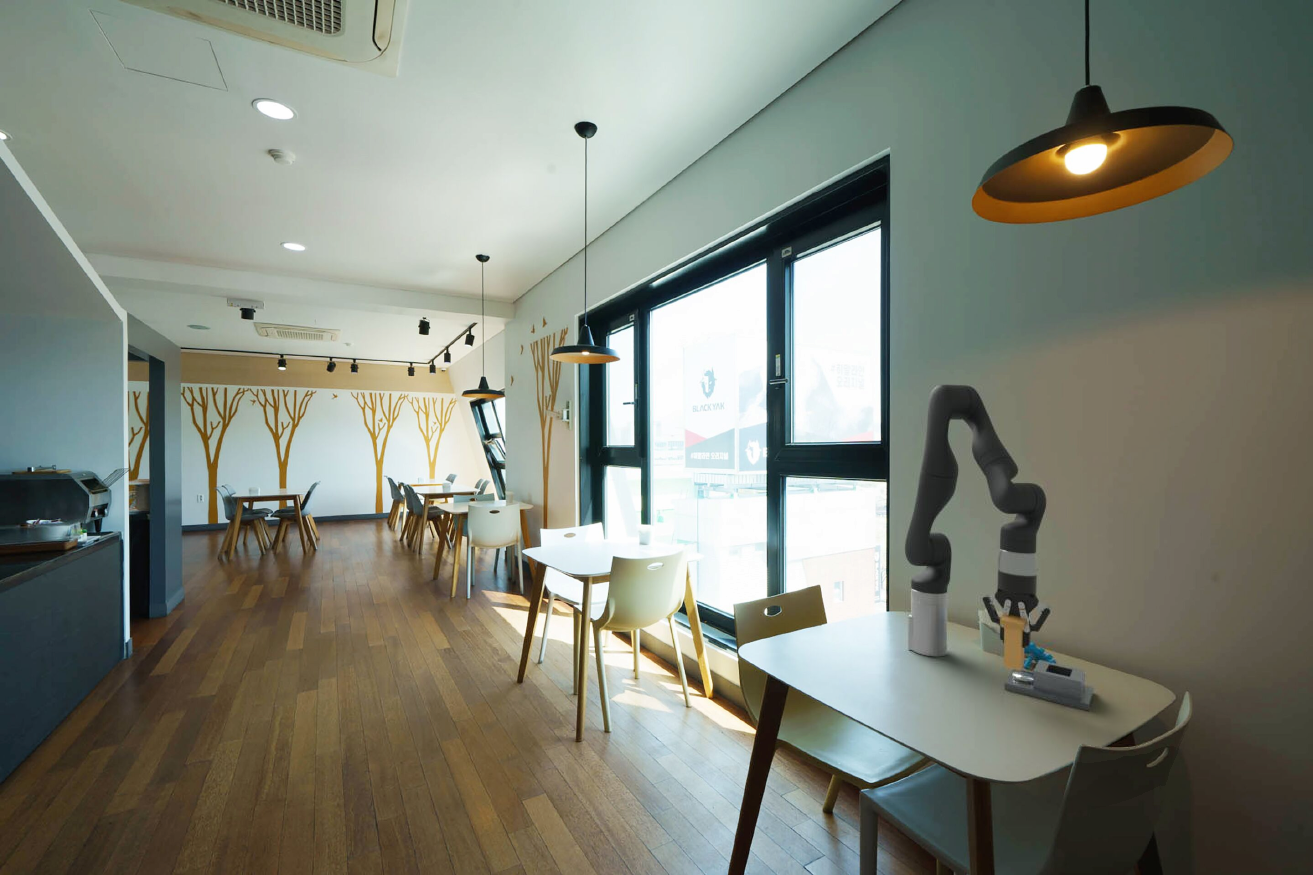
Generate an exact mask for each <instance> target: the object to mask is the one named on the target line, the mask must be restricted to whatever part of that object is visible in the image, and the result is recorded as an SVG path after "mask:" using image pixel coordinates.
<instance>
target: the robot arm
mask: <svg viewBox="0 0 1313 875" xmlns="http://www.w3.org/2000/svg"><path fill="white" fill-rule="evenodd" d="M926 416H927V419H926V433H925V442H924V443H925V444H924V450H923V455H922V462H921V467H920V471H919V478H918V485H917V486H918V487H917V492H916V498H915V503H914V507H913V512H912V516H911V519H910V523H909V528H908V530H907V533H906V537H905V543H904V554H905V558H906V560H907V561H908V563H909V564H910V565H912V566H914V567H915V566H916V567H925V568H924V570H923V571H922V572H920V573H918V574H917V575H915V576H913V577H911V581H910V614H909V615H908V618H907V619H908V622H907V623H908V627H907V628H908V630H907V631H908V632H907V634H908V635H907V636H908V638H907V639H908V640H907V647H908V648H907V650H911V651H912V652H915V653H917V654H920V655H922V656H928V657H944V656H946V655H947V654H948V653H947V652H948V587H949V585H950V582H951V572H952V570H951V569H952V556H953V554H952V552H953V551H952V546H951V545H952V544H951V542H950V540H949V538H948V536H946V535H945V534H944V533H941V532H931V530H932V527H933V525H934V522H935V520H936V518H937V517H938V516H939V514H940V513H941V512H942V511H943V509H944V508H945V507H946V506H947V505H948V503H950V501H951V499H952V498H953V496H954V495H955V492H956V488H957V482H958V478H959V470H960V469H959V464H958V462H957V461H958V460H957V458H956V457H955V454H954V451H953V450H952V447H951V445H950V442H949V430H950V429H949V427H950V422H951V420H955V421H957V420H959V421H960V420H962V421H964V422H965V423H966V425H968V426H969V428H970V429H971V432H972V441H971V442H972V444H971V452H972V456H973V459H974V461H975V462H976V464H977V465H978V467H979V468H980V470H981V472H982V474H983V475H984V476H985V478H986V482H987V486H988V490H989V495H990V497H991V501H992V504H993V505H994V507H995V508H997V510H999V511H1000V512H1001V513H1004V514H1008V515H1015V517H1014V520H1012V521H1011V522H1009V523H1005V524H1003V525H1002V526H1001V527H1000V534H999V552H998V558H997V559H998V560H997V587H996V588H997V589H996V592H995V593H994V594H990V595H989V594H986V595H984V596H983V597H982V602H983V605H984V608H985V609H986V611H987V613H988V616H989V620H990V621H991V623H994V624H997V625H998V626H999V640H1000V641H1002V643H1003V644H1004V626H1000V619H1001V616H1002V615H1004V616H1008V615H1009V614H1016V615H1019V616H1021V619H1024V620H1026V622H1027V625H1026V628H1025V630H1024V631H1023V639H1022V648H1026V647H1027V646H1029V644H1030V643H1031V642H1032V641H1031V639H1032V637H1031V636H1032V634H1031V633H1032V632H1035V633H1036V632H1039V631H1040V630H1041V629H1042V627H1043V625H1044V624H1045V622H1046V620H1047V618H1048V617H1049V615H1050V614H1051V612H1052V610H1053V609H1052V607H1051V606H1049V605H1048V606H1046V605H1045V604H1043V603H1041V602H1040V601H1039V599H1038V596H1037V583H1038V582H1037V580H1038V578H1037V577H1038V571H1039V570H1038V558H1037V537H1038V536H1037V534H1038V532H1039V530H1040V527H1041V524H1042V521H1043V518H1044V514H1045V513H1046V509H1047V495H1046V493H1045V491H1044V490H1043V488H1042V487H1041V486H1040V485H1038V484H1037V483H1033V482H1013V481H1012V480H1014V478H1016V476H1017V475H1018V473H1019V466H1018V465H1017V463H1016V462H1015V460H1014V459H1013V457H1012V455H1011V454H1010V452H1008V450H1007V448H1005V445H1004V444H1003V443H1002V441H1001V440H1000V437H999V436H998V434H997V432H996V430H995V428H994V425H993V423H992V420H991V418H990V415H989V413H988V411H987V409H986V406H985V404H984V402H983V400H982V397H981V395H980V394H979V392H978V391H977V390H976V389H975V388H974V387H972V386H970V385H966V384H964V385H963V384H938V385H936V386H935V387H934V388H933V389H932V391H931V392H930V395H929V399H928V406H927V415H926ZM996 602H997V603H998V604H999V606H1000V608H1001V609H1002V613H1001V616H999V614H998V611H997V610H996V606H995V604H996ZM1036 608H1037V610H1038V611H1037V613H1038V615H1039V617H1038V619H1037V620H1036V622H1035V623H1032V622H1031V615H1030V613H1031V612H1032V611H1033V610H1035V609H1036ZM1027 615H1028V617H1027Z"/></svg>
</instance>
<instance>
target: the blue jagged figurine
mask: <svg viewBox="0 0 1313 875" xmlns="http://www.w3.org/2000/svg"><path fill="white" fill-rule="evenodd" d="M1045 652H1046V649H1045V648H1043V647H1041V646H1040V647H1039V648H1038V647H1037V646H1036V643H1035V642H1033V641H1031V643H1030V644H1029V646H1027V647H1026V648H1024V659H1026V660H1025V661H1024V664H1023V667H1022V668H1024V669H1028V668H1029V666H1030V665H1031V663H1032V662H1034V663H1038V661H1039V660H1042V661H1046V662H1051V663H1055V664H1058V663H1057V661H1056V660H1055V659H1053V658H1054V656H1053V655H1052V654H1051V653H1047V654H1046V653H1045Z"/></svg>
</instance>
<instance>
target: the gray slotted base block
mask: <svg viewBox="0 0 1313 875" xmlns="http://www.w3.org/2000/svg"><path fill="white" fill-rule="evenodd" d="M1004 690H1007V691H1009V692H1014V693H1018V694H1021V695H1026V696H1029V697H1033V698H1037V699H1041V700H1045V701H1048V702H1052V703H1056V704H1060V705H1062V706H1063V705H1065V706H1068V707H1071V708H1076V709H1078V710H1079V709H1080V710H1083V711H1087V712H1089V711H1090V709H1091V708H1090V707H1091V705H1092V700H1093V696H1094V686H1091V685H1087V684H1086V670H1085V669H1082V668H1078V667H1074V666H1073V667H1072V666H1069V665H1065V664H1058V663H1056V664H1055V663H1051V662H1046V661H1042V660H1039V661H1038V663H1037V664H1036V665H1035V667H1034V669H1033V671H1032V672H1031V671H1027V670H1023V669H1021V671H1019V670H1015V669H1012V671H1011V672H1010V674H1009V675H1008V676H1007V679H1006V680H1005V682H1004Z"/></svg>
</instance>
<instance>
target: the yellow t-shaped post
mask: <svg viewBox="0 0 1313 875" xmlns="http://www.w3.org/2000/svg"><path fill="white" fill-rule="evenodd" d="M1027 617H1028V615H1027ZM1000 618H1001V619H1000V626H1004V643H1003V644H1004V646H1003V648H1004V649H1003V653H1004V654H1003V655H1004V656H1003V668H1008V669H1011V670H1013V669H1015V670H1019V671H1021V670H1023V668H1024V667H1023V665H1024V664H1025V658H1024V648H1022V639H1023V631H1024V630H1025V628H1026V625H1027V622H1026V620H1024V619H1021V616H1019V615H1016V614H1009V615H1008V616H1004V615H1002V614H1001V616H1000ZM1000 626H999V627H1000Z"/></svg>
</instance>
